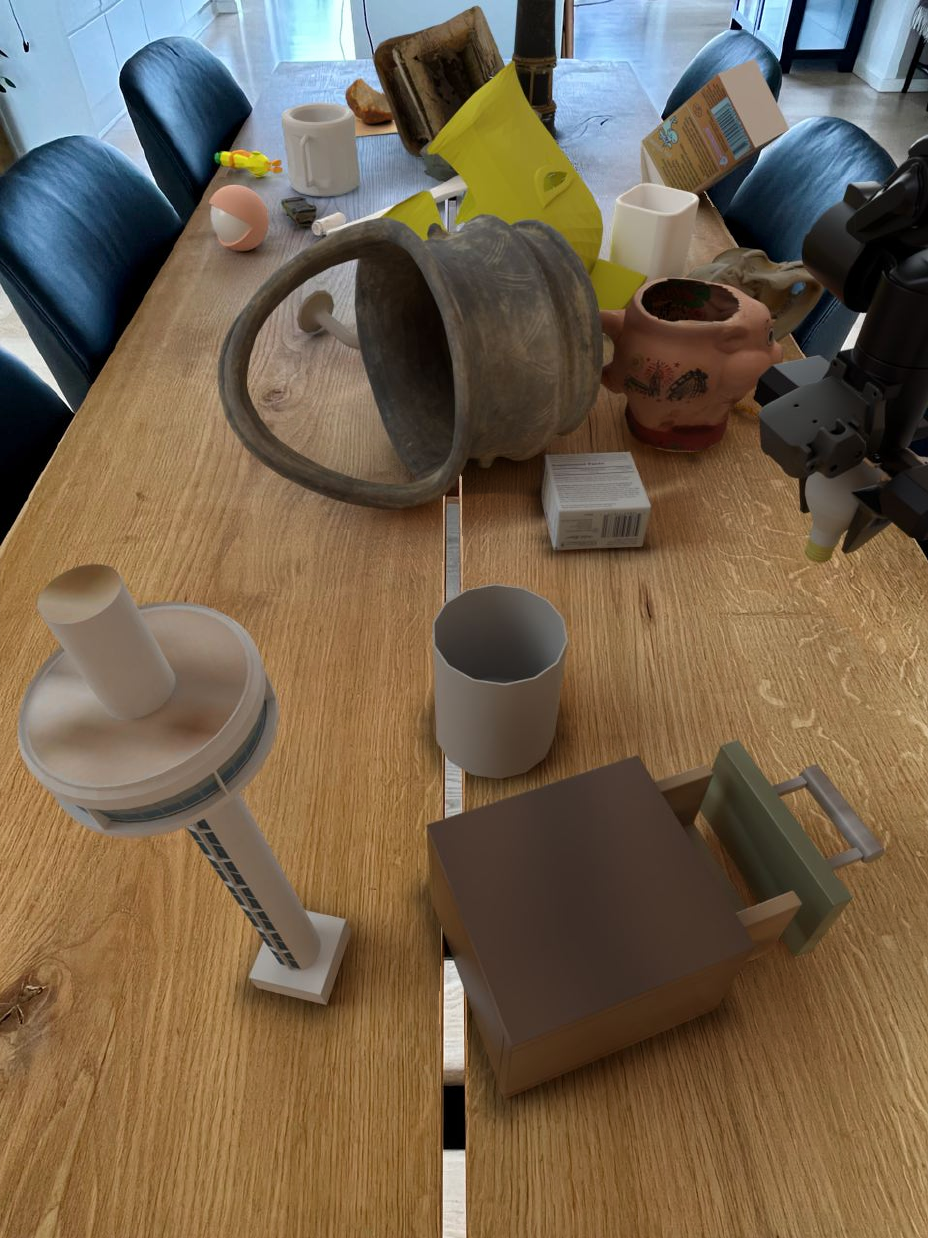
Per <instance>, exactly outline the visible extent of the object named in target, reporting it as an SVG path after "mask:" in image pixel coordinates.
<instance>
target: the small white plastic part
mask: <svg viewBox="0 0 928 1238" xmlns="http://www.w3.org/2000/svg"><path fill="white" fill-rule="evenodd" d="M346 218H347V217H346V216H345V214H344V213H342V212H339V211H337V212H335V213H333V214H330V215H328V216H325V217H322V218H320V219H315V220H314V221H313V224H312V225H311V231H312V232H313V233H312V234H314V235H315V236H323V235H326V232H327V231H328V230H330V229H333V228H337V227H339V226H341V225H344V224H347V223H346V222H347V219H346Z"/></svg>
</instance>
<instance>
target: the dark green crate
mask: <svg viewBox="0 0 928 1238" xmlns="http://www.w3.org/2000/svg"><path fill="white" fill-rule="evenodd" d="M280 204H281V207H282V209H283V210H284V211H285V212H286V214H285V216H286V217H290V219H291V220H292V221H294V223H295V224H296V225H297V226H298V227H299V228H304V227H310V226H311V227H312V224H313V223H314V222H315V221H316V218H317V212H318V208H317V205H315V204H310V202H308V201H307V198H306V197H302V196H295V197H285V198H282V199H280Z"/></svg>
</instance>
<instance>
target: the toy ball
mask: <svg viewBox="0 0 928 1238" xmlns="http://www.w3.org/2000/svg"><path fill="white" fill-rule="evenodd" d="M208 205H210V212H209V220H210V225H211V228H212V230H213V231H214V233H215V235H216V237H217V240H218V242H219V243H220V244H221V245H222V246H223V247H225V248H227V249H230V250H233V251H237V252H247V251H250V250H253V249H254V248H256V247H258V246H259V245H260V244H261V243H262V242H263V241H264V240H265V237H266V235H267V234H268V230H269V224H270V217H269V211H268V209H267V207H266V204H265V202H264V201H263V199H262V198H261V197H260V196H259V195H258V194H257V193H256V192H255V191H253V189H251V188H249V187H246V186H244V185H239V184H229V185H225V186H223V187H221V188H219V189H218V190H217V191H215V192H214V193H213V195H212V196H211V197H210V199H209V201H208Z"/></svg>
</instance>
